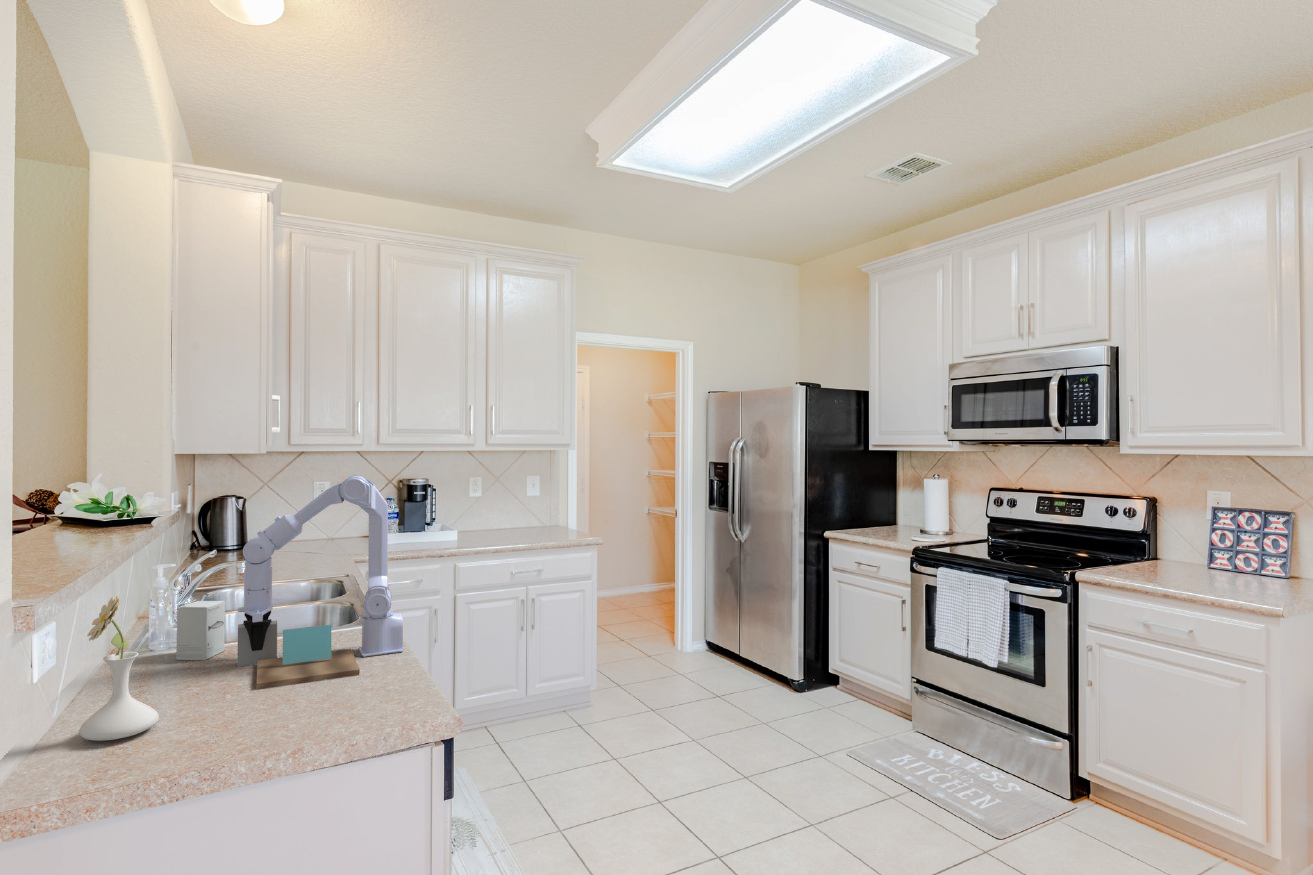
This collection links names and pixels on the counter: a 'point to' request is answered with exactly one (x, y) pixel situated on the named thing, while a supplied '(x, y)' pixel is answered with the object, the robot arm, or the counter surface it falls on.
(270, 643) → the grey rectangular block
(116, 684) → the flower in vase
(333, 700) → the counter surface
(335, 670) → the board
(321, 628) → the tile
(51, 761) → the counter surface
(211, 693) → the counter surface
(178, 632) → the supplement box
